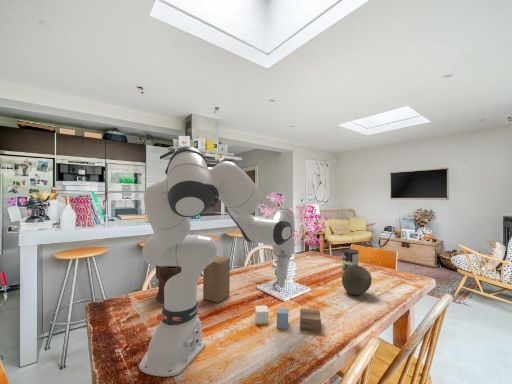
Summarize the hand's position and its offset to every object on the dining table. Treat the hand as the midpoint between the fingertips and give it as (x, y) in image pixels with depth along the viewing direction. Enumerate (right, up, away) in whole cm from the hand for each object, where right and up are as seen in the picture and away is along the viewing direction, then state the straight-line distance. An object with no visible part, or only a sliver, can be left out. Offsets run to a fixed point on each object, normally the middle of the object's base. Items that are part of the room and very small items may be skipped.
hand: (283, 282), depth 98 cm
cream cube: (-9, -18, +4) cm, 20 cm away
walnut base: (+11, -18, 0) cm, 21 cm away
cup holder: (-54, -17, +24) cm, 61 cm away
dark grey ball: (+42, -18, +30) cm, 55 cm away
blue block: (0, -18, 0) cm, 18 cm away
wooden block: (-31, -17, +25) cm, 43 cm away
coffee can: (+53, -18, +65) cm, 86 cm away
